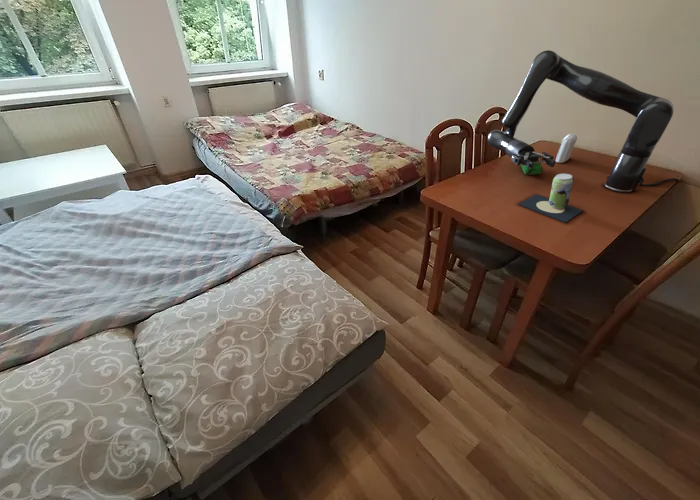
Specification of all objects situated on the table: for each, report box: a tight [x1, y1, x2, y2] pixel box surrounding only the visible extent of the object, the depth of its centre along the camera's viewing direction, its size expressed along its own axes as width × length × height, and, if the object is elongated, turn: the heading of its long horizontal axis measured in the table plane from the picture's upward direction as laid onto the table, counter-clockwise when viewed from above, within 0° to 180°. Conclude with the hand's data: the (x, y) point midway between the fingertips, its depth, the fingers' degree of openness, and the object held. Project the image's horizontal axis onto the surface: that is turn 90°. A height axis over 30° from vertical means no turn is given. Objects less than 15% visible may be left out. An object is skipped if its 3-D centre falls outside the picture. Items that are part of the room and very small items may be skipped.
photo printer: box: [554, 133, 578, 164], centre depth 155 cm, size 10×4×12 cm, turn 134°
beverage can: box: [549, 173, 574, 209], centre depth 116 cm, size 6×7×12 cm
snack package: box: [520, 159, 544, 176], centre depth 146 cm, size 7×16×5 cm, turn 165°
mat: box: [518, 193, 584, 224], centre depth 119 cm, size 17×13×1 cm
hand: (543, 165), depth 121 cm, fingers open, 8 cm apart
